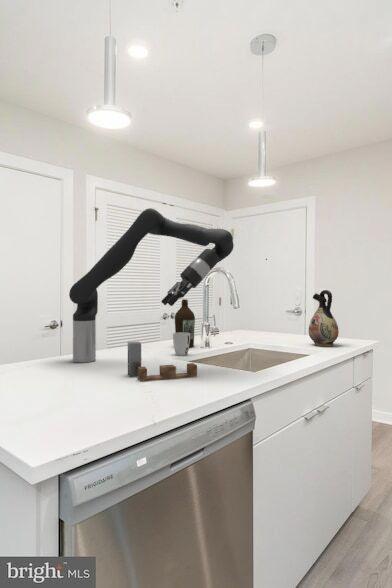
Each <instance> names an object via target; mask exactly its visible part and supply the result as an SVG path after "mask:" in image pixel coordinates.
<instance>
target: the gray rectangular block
mask: <svg viewBox="0 0 392 588" xmlns="http://www.w3.org/2000/svg"><path fill="white" fill-rule="evenodd" d="M138 367H142V342H140V341H128V342H127V375H128V376H129V378H131V377H132V378H133V377H138Z"/></svg>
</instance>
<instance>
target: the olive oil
mask: <svg viewBox="0 0 392 588" xmlns="http://www.w3.org/2000/svg"><path fill="white" fill-rule="evenodd" d="M188 301H189V300H188V299H187V298H186V299H185V298H184V299H181V306H180V308H179V309H178V310H177V311H176V313H175V316H174V331H175V332H174V333H178V332H186V333H190V344H189V349H192V348H194V347H195V327H196V326H195V324H196V318H195V317H196V316H195V314H194V312H193V311H192V310H191V308H190V307H189V302H188Z"/></svg>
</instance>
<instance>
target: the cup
mask: <svg viewBox="0 0 392 588" xmlns="http://www.w3.org/2000/svg"><path fill="white" fill-rule="evenodd" d="M172 341H173V342H172V343H173V344H172V345H173V349H174V352H175V356H178V357H179V356H180V357H181V356H183V357H184V356H188V353H189V349H190V348H189V344H190V333H186V332H178V333H175V332H172Z"/></svg>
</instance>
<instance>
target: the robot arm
mask: <svg viewBox="0 0 392 588" xmlns="http://www.w3.org/2000/svg"><path fill="white" fill-rule="evenodd" d="M148 234H150V235H153V236H162V237H163V236H164V237H171V238H176V239H180V240H182V241H185V242H188V243H191V244H194V245H198V246H202V247H207V246H209V244H214V247H212V248H205V249H204V250H203V251H202V252H201V253H200V254H199V255H198V256H197V257H196V258H195V259H194V260H192V261H191V262H190V263H189V265H188V266H186V267H185V269H183V271H182V272H181V273H180V278H181V279H182V280H181V281H177V282H176V283H175V284H174V285H173V286H172V287H171V288H170V289H169V290H168V291H167V294H166V295H165V297H163V298H162V300H161V304H163V305H164V306H166V305H169V306H171V307H172V306H174V304H176V303H177V302H178V301H179V300H180V299H182V298H184V297H185V296H186V294H188V292H189V291H190V290H191V289H196V288H197V287H198V285H200V283H201V282H202V281H203V280H204V279H205V278H206V277H207V276H208V274H209V273H210V272H211V271H212V269H213V268H214V267H216V265H217V264H218V263H220V262H221V261H223V260H224V259H226V258H228V257H229V255H231V254H232V252H233V251H234V246H235V245H234V239H233V238H234V237H233V235H232V233H231V232H230V231H229V230H226V229H223V228H206V227H203V226H199V225H196V224H191V223H180V222H176V221H173V220H170V219H169V218H167V217H165V216H164V215H163V214H161V213H160V212H159V211H158V210H157V209H155V208H151V207H150V208H146V209H145V210H143V211H142V212H141V213H140V214H139V215H138V216H137V218H135V220H134V222H133V223H132V224H131V226H130V227H129V228H128V229H127V231H125V232H124V233H123V234H122V236H120V238H119V239H118V240H117V241H116V242H115V243H114V244H113V245H112V246H111V247H110V248H109V249H108V250H107V251H106V252H105V253H104V255H103V256H102V257H101V258H100V259H99V260H98V261H97V262H96V263H95V264H94V265H93V266H92V268H91V269H90V270H89V271H88V272H87V273H85V275H83V276H82V277H81V278H80V279H79V280H77V281H76V282H75V283H74V284H73V285H72V286H71V287H70V289H69V294H68V296H69V299H70V301H71V302H72V303H74V304H76V310H75V311H74V313H72V362H73V363H92V362H95V361H96V360H97V359H96V358H97V354H96V349H97V348H96V347H97V346H96V345H97V343H96V336H97V335H96V331H97V330H96V329H97V328H96V323H97V322H96V318H97V317H96V316H97V313H98V303H99V302H98V301H99V299H98V297H99V295H98V294H99V293H98V290H97V289H98V288H99V287H100V286H101V285H102V284H103V283H104V282H106V281H108V280H109V279H110V278H112V277H114V276H116V274H118V273H119V272H121V271H122V270H123V269H124V267H125V266H127V264H128V263H129V262H130V261H131V259H132V258H133V256H134V254H135V252H136V249H137V247H138V245H139V243H140V242H141V241H142V240H143V238H145V237H146V236H147V235H148Z"/></svg>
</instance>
